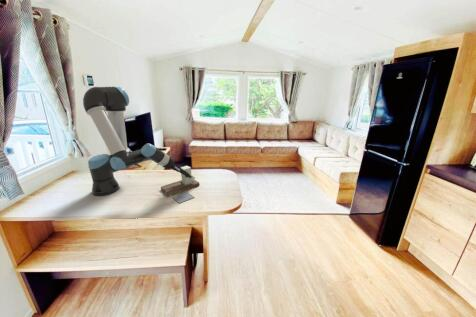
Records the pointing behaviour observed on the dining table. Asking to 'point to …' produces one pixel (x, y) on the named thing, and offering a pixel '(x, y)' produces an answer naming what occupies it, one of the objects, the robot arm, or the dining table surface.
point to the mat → (183, 197)
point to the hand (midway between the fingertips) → (191, 177)
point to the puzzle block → (184, 179)
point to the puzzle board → (178, 187)
